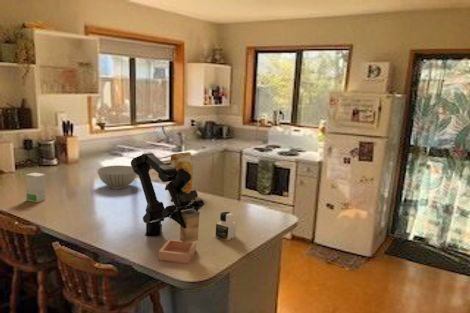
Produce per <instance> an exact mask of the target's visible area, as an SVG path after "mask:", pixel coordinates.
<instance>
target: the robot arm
mask: <svg viewBox="0 0 470 313" xmlns="http://www.w3.org/2000/svg"><path fill="white" fill-rule="evenodd" d="M130 166H132V168H133V170H134V172H135V173H136V174H137V176H138V178H139V182H140V184H141V187H142V191H143V194H144V197H145V200H146V204H147V205H146V208H145V214H144V215H143V216H142V221H143V222H144V223H145V225H146V226H145V233H144V236H147V237H155V238H156V237H157V238H158V237H159V236H160V235H161V234H162V233H163V224H162V222H165V219H167V218H168V219H171V220H173V221H174V222H176V223H177V224H178V225H180V227H181V226H182V227H183V228H184V229H185V228H186V225H185V223H184V220H183V218H182V216H181V212H182V211H186V210H190V209H194V210H196V211H198V212H199V210H200V209H202V208H203V207H204V206H205V204H206V203H205V201H204V200H203V199H202V198H201V199H199V198H198V196H199V194H198V192H197V190H196V189H192V191H190V193H186V192H183V189H182V188H184V187H185V186H186V185H187V183H188V182H189V181H190V180H191V175H190V174H189V173H188V172H187V171H185V170H184V169H183V168H181V169H179V170H178V171H177V170H176V168H174V167H172V166H171V165H167V164H165V163H164V162H163V161H161V159H159V158H158V157H157V156H156V155H155V153H154V152H144V153H142V154H141V155H138V156H136V157H133V158H132V160H131V161H130ZM150 169H153V170H154V171H155V172H156V173H157V177H158V179H160V181H161V182H162V183H166V184H165V187H164V190H165V191H168V193H169V195H170V198H171V199H170V202H171V203H173V204H172V205H167V206H166V207H165V206H164V203H163V201H159V200H158V198H157V195H156V191H155V187H154V184H153V182H152V178H151V176H150ZM196 198H198V199H196ZM192 201H193V202H192Z"/></svg>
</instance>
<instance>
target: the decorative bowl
mask: <svg viewBox="0 0 470 313" xmlns="http://www.w3.org/2000/svg"><path fill="white" fill-rule="evenodd" d="M96 171H97V175H98V178H99V179H100V180H101V182H102V183H104V185H107V186H108V188H109V189H112V190H122V188H123V189H126V188H128V186H129V185H131V184H132V183H133V182H134V181H135V180H136V178H137V176H138V175H137V174H136V173H135V172H134V170H133V168H132V166H131V165H122V164H120V165H119V164H117V165H107V166H102V167H98V168H97V169H96Z"/></svg>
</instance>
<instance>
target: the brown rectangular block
mask: <svg viewBox="0 0 470 313" xmlns="http://www.w3.org/2000/svg"><path fill="white" fill-rule="evenodd" d="M200 214H201V213H200V211H199V210H198V211H196V210H194V209H187V210H183V211H181V216H182V218H183V220H184V223H185V225H186V228H185V229H184V228H183V227H182V226H181V225H180V228H179V230H180V231H179V240H180V241H182V242H184V243H186V244H187V243H191V242H197V241H199V226H200V225H199V223H200Z"/></svg>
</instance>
